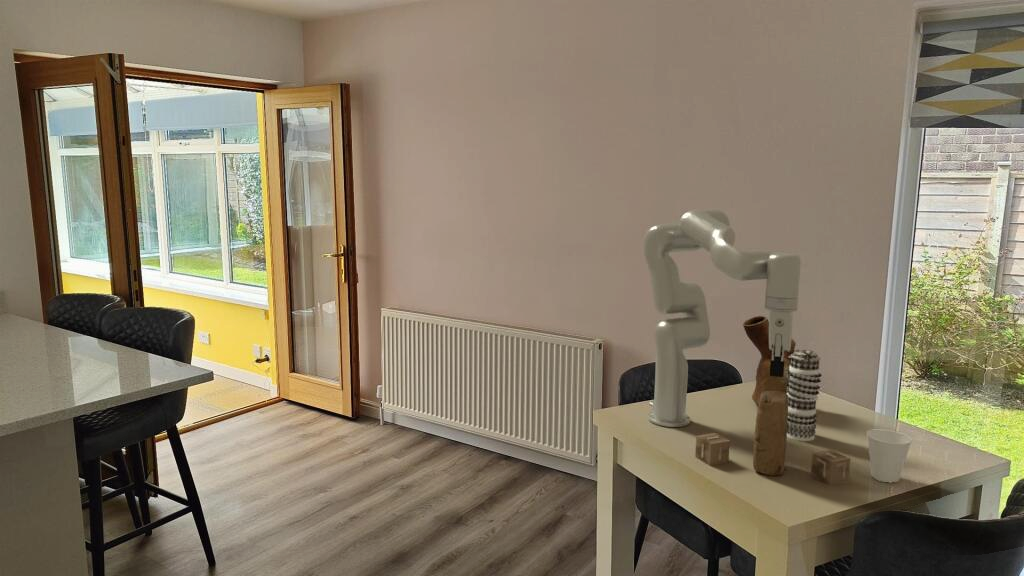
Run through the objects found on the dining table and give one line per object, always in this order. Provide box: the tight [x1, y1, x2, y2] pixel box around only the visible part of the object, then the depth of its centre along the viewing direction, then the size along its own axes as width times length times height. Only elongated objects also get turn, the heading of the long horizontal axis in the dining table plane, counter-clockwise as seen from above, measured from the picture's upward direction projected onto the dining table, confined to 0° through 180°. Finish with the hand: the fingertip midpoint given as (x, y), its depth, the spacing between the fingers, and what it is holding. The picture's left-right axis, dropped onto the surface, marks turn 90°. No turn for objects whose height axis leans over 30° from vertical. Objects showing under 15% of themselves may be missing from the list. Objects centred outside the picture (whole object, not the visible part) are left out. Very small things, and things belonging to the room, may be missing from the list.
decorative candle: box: [786, 348, 822, 442], centre depth 197 cm, size 9×9×25 cm
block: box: [752, 391, 788, 476], centre depth 174 cm, size 11×8×20 cm
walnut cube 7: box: [810, 449, 851, 486], centre depth 170 cm, size 6×6×6 cm
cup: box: [866, 428, 913, 484], centre depth 170 cm, size 10×10×11 cm
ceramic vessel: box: [742, 315, 797, 406], centre depth 222 cm, size 16×22×30 cm
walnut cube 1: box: [694, 432, 731, 467], centre depth 180 cm, size 6×6×6 cm
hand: (776, 375), depth 172 cm, fingers closed
